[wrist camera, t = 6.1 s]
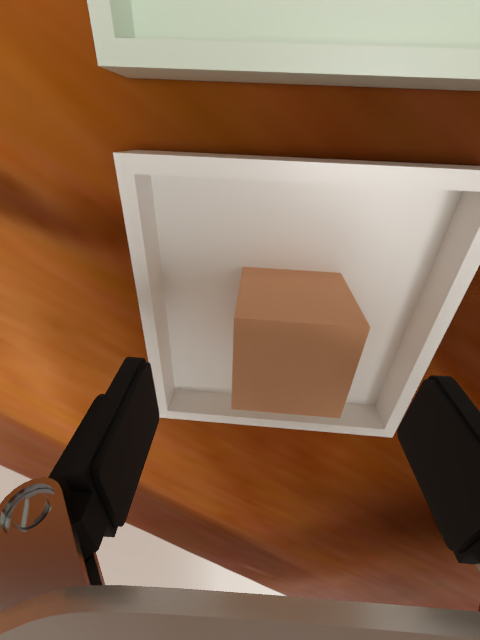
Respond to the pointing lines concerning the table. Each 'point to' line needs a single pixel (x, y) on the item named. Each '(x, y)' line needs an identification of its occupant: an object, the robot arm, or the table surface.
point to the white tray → (295, 267)
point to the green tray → (293, 41)
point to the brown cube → (295, 342)
